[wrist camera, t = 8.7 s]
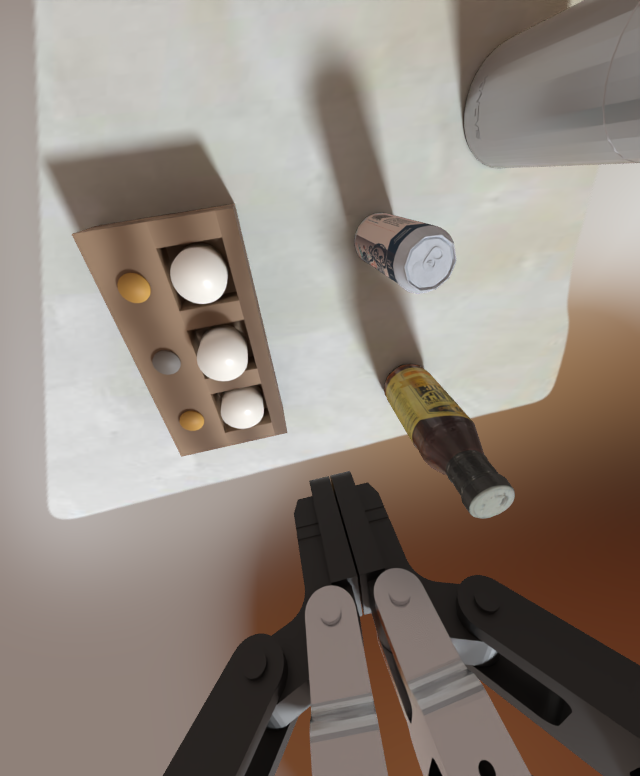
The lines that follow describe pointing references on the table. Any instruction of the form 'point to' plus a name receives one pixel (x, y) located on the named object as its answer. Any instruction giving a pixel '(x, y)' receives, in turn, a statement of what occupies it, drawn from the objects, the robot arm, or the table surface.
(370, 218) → the beer can
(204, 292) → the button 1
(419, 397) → the sauce bottle
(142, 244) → the button board
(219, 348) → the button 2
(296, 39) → the table surface
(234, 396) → the button
